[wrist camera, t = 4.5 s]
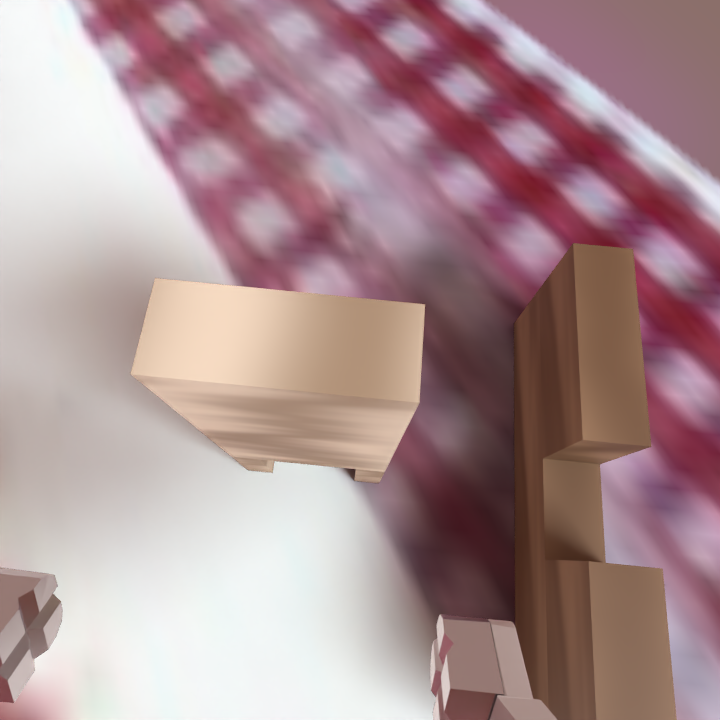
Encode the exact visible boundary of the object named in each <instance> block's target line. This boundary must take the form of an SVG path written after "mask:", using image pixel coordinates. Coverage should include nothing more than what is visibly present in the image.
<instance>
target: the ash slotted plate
mask: <svg viewBox="0 0 720 720" xmlns="http://www.w3.org/2000/svg"><path fill="white" fill-rule="evenodd" d="M424 315H425V304H416V303H406V302H396V301H385V300H375V299H365V298H354V297H344V296H334V295H324V294H313V293H303V292H293V291H283V290H272V289H262V288H252V287H241V286H231V285H221V284H211V283H200V282H190V281H180V280H169V279H159V278H155V280H154V284H153V288H152V292H151V296H150V300H149V304H148V307H147V311H146V315H145V319H144V323H143V327H142V331H141V335H140V339H139V343H138V347H137V351H136V355H135V359H134V362H133V366H132V370H131V375H132V376H133V377H134V378H136V379H137V380H138V381H139V382H141V383H142V384H143V385H144V386H146V387H147V388H148V389H149V390H150V391H152V392H153V393H154V394H155V395H157V396H158V397H159V398H160V399H161V400H163V401H164V402H165V403H166V404H168V405H169V406H170V407H171V408H172V409H174V410H175V411H176V412H177V413H179V414H180V415H181V416H182V417H183V418H185V419H186V420H187V421H188V422H190V423H191V424H192V425H193V426H194V427H196V428H197V429H198V430H199V431H201V432H202V433H203V434H204V435H206V436H207V437H208V438H209V439H210V440H212V441H213V442H214V443H215V444H217V445H218V446H219V447H220V448H221V449H223V450H224V451H225V452H226V453H228V454H229V455H230V456H231V457H232V458H234V459H235V460H236V461H237V462H239V463H240V464H241V465H242V466H243V467H245V468H246V469H247V470H251V471H261V472H271V473H273V466H274V461H280V462H290V463H300V464H310V465H320V466H330V467H340V468H350V469H355V480H354V481H361V482H371V483H379V482H380V480H381V478H382V476H383V474H384V472H385V470H386V468H387V466H388V464H389V462H390V460H391V458H392V456H393V454H394V452H395V450H396V448H397V446H398V444H399V442H400V440H401V438H402V436H403V434H404V432H405V430H406V428H407V426H408V424H409V422H410V420H411V418H412V416H413V414H414V412H415V410H416V408H417V406H418V404H419V399H420V382H421V366H422V349H423V332H424Z"/></svg>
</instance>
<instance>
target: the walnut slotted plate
mask: <svg viewBox="0 0 720 720" xmlns="http://www.w3.org/2000/svg"><path fill="white" fill-rule="evenodd" d="M649 447H651V439H650V428H649V417H648V406H647V396H646V385H645V374H644V363H643V353H642V342H641V331H640V320H639V309H638V299H637V288H636V277H635V266H634V255H633V249H627V248H617V247H606V246H596V245H585V244H575V243H573V244H572V246H571V247H570V248H569V250H568V251H567V252H566V254H565V255H564V256H563V258H562V259H561V261H560V262H559V263H558V265H557V266H556V267H555V269H554V270H553V271H552V273H551V274H550V275H549V277H548V278H547V279H546V281H545V282H544V284H543V285H542V286H541V288H540V289H539V290H538V292H537V293H536V294H535V296H534V297H533V298H532V300H531V301H530V302H529V304H528V305H527V307H526V308H525V309H524V311H523V312H522V313H521V315H520V316H519V317H518V319H517V320H516V321H515V323H514V479H515V628H516V632H517V636H518V640H519V644H520V648H521V652H522V656H523V660H524V664H525V668H526V672H527V676H528V680H529V684H530V688H531V692H532V696H533V699H538V700H541V701H542V702H543V703H544V704H545V706H546V707H547V708H548V709H549V710H550V711H551V713H552V714H553V715H554V716H555V717H556V719H557V720H677V719H676V709H675V698H674V687H673V676H672V665H671V655H670V644H669V633H668V622H667V612H666V601H665V590H664V579H663V569H660V568H650V567H640V566H630V565H621V564H611V563H606V562H605V545H604V528H603V511H602V494H601V477H600V464H602V463H605V462H608V461H611V460H614V459H616V458H619V457H622V456H625V455H628V454H631V453H634V452H637V451H640V450H643V449H646V448H649Z"/></svg>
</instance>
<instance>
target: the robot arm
mask: <svg viewBox="0 0 720 720" xmlns="http://www.w3.org/2000/svg"><path fill="white" fill-rule="evenodd" d="M57 587H58V585H57V582H56V578H55V575H52V574H46V573H39V572H31V571H24V570H16V569H9V568H0V702H10V703H14V702H15V701H16V699H17V698H18V696H19V694H20V693H21V691H22V690H23V688H24V687H25V685H26V684H27V682H28V680H29V679H30V677H31V676H32V674H33V673H34V671H35V664H34V659H35V658H36V657H38V656H39V655H41V654H42V653H44V652H45V651H47V650H48V649H49V648H50V646H51V644H52V643H53V641H54V639H55V638H56V636H57V633H58V630H59V627H60V625H61V622H62V612H63V609H62V604H61V601H60V600H59V599H58V598H57V597H56V596H55V595H54V594H53V592H54V591H55V589H56V588H57ZM436 627H437V638H436V639H435V640H434V641H433V645H432V651H431V662H430V681H431V691H432V692H433V694H434V695H435V697H436V700H435V705H434V709H433V720H557V719H556V717H555V716H554V715H553V714H552V713H551V711H550V710H549V709H548V708H547V707H546V706H545V704H544V703H543V702H542V701H541V700H538V699H533V696H532V692H531V688H530V684H529V680H528V676H527V672H526V668H525V664H524V660H523V656H522V652H521V648H520V644H519V640H518V636H517V632H516V628H515V625H514V624H513V622H512V621H503V620H493V619H486V618H478V617H467V616H456V615H445V614H440V616H439V618H438V622H437V626H436Z"/></svg>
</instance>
